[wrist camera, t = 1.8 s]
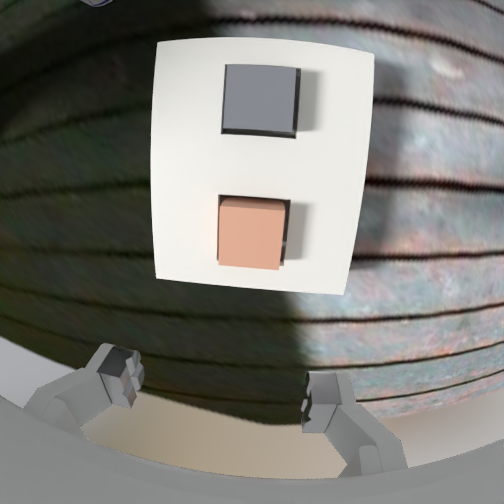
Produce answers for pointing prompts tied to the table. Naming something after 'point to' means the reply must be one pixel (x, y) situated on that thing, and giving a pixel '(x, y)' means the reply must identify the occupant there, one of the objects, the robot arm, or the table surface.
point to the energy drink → (97, 2)
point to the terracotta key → (251, 232)
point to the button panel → (259, 160)
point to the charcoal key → (259, 98)
